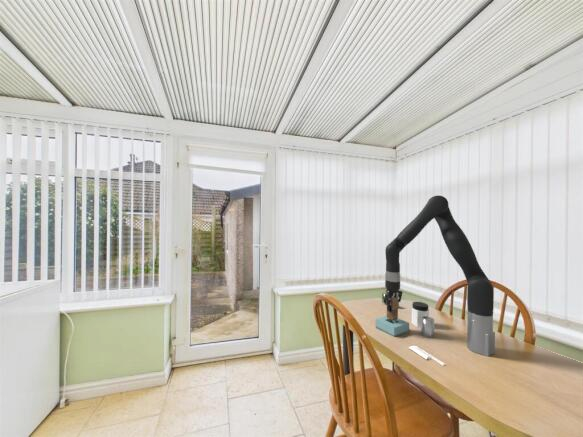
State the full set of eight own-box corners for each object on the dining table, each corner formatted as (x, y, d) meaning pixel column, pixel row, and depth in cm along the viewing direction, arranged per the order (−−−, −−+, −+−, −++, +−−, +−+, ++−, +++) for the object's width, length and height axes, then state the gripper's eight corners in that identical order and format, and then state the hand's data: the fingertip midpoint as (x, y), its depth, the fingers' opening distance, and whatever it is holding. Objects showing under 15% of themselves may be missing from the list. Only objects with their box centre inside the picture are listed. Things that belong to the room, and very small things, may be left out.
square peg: (397, 319, 129) (398, 297, 129) (392, 320, 127) (393, 298, 127) (391, 316, 132) (391, 294, 132) (386, 317, 130) (386, 296, 130)
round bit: (436, 337, 122) (436, 319, 122) (429, 339, 119) (429, 322, 119) (425, 332, 127) (425, 315, 127) (418, 334, 124) (419, 317, 124)
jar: (425, 329, 130) (425, 308, 130) (409, 324, 136) (410, 304, 136) (430, 324, 136) (430, 304, 136) (415, 320, 142) (415, 300, 142)
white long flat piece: (436, 366, 96) (437, 363, 96) (408, 348, 110) (408, 345, 110) (446, 366, 97) (446, 363, 97) (416, 348, 111) (417, 345, 111)
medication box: (381, 302, 172) (381, 297, 172) (384, 301, 174) (383, 296, 174) (397, 307, 162) (396, 301, 162) (399, 306, 164) (399, 300, 164)
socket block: (409, 332, 127) (409, 322, 127) (394, 337, 121) (394, 327, 121) (390, 323, 138) (390, 314, 138) (375, 327, 132) (375, 318, 132)
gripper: (389, 282, 123) (389, 315, 123) (407, 279, 129) (406, 310, 129) (378, 279, 129) (377, 310, 129) (395, 276, 136) (395, 306, 136)
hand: (392, 310), depth 129 cm, fingers closed on square peg, 4 cm apart
